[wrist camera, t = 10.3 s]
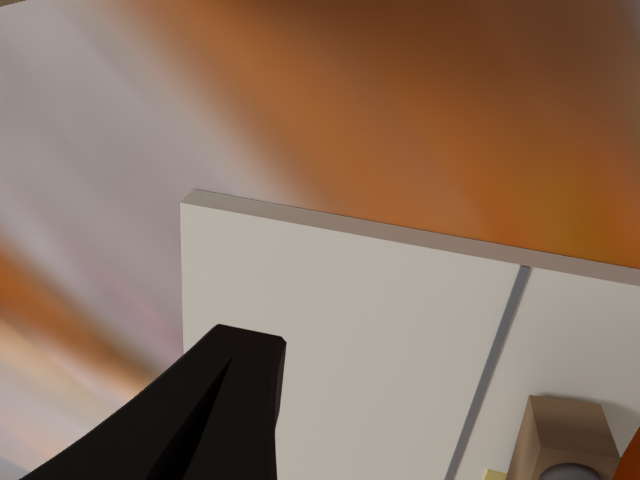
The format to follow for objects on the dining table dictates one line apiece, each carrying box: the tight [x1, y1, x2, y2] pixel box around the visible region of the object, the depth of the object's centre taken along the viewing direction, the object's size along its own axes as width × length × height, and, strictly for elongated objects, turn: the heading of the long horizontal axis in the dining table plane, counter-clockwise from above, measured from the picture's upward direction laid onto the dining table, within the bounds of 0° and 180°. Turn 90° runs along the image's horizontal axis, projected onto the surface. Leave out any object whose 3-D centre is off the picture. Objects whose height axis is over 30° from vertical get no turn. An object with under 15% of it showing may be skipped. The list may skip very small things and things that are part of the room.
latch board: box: [180, 189, 640, 480], centre depth 23 cm, size 18×18×1 cm
